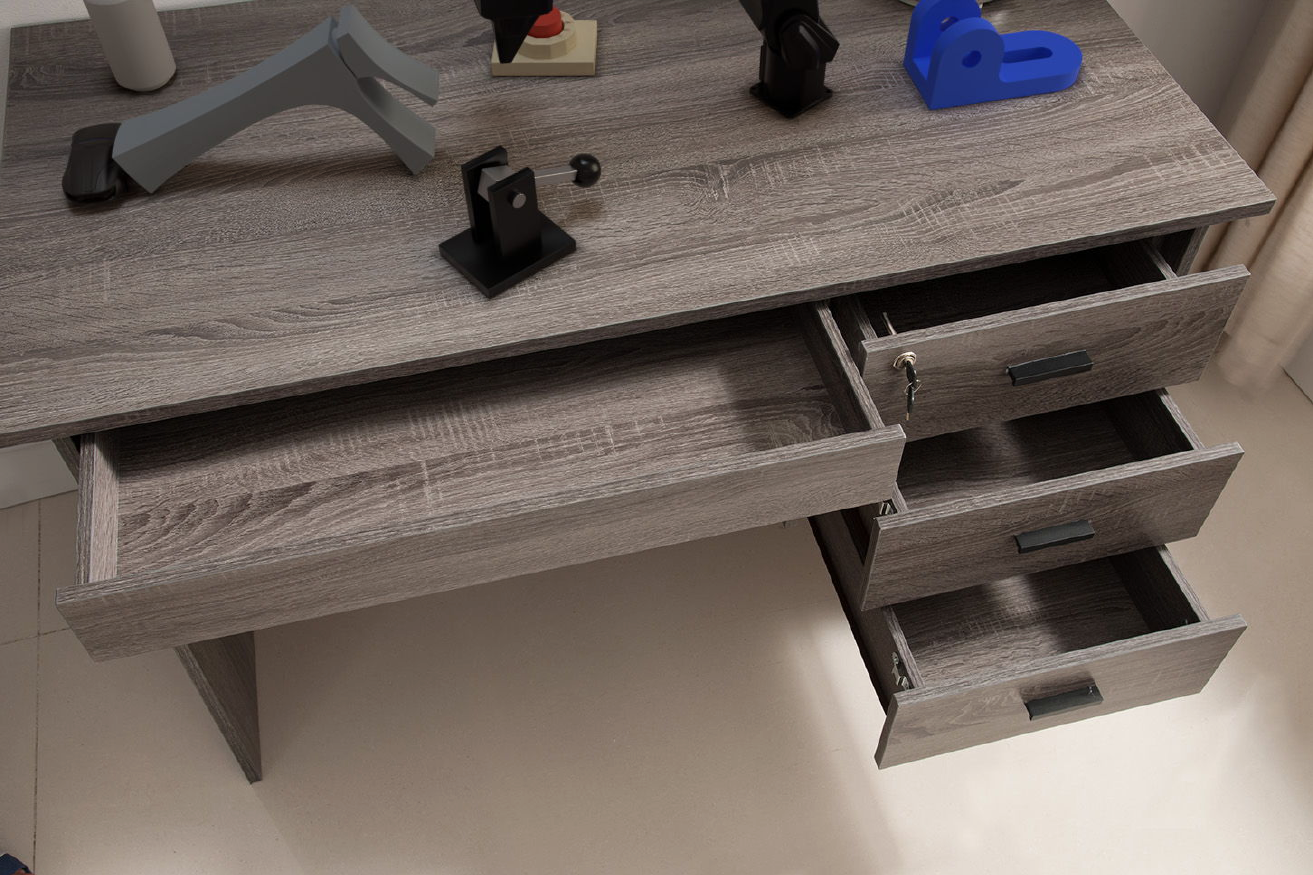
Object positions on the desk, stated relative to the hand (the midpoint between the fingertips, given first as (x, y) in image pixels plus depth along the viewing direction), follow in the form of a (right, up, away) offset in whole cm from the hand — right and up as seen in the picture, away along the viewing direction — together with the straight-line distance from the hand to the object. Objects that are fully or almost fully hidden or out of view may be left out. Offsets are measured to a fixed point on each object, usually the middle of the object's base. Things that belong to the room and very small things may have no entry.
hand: (493, 35), depth 114 cm
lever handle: (+4, -15, -1) cm, 15 cm away
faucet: (-21, -10, +9) cm, 25 cm away
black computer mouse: (-40, -11, +9) cm, 42 cm away
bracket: (+51, +2, +18) cm, 55 cm away
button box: (+3, +5, +21) cm, 22 cm away
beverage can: (-40, +2, +19) cm, 44 cm away
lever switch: (+1, -20, +1) cm, 20 cm away
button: (+3, +7, +19) cm, 20 cm away
